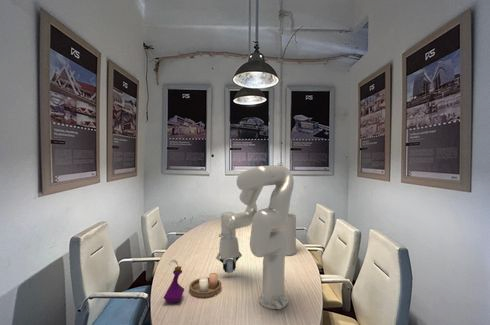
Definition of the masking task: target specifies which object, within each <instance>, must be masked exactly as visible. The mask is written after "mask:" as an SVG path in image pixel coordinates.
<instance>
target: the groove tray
mask: <svg viewBox="0 0 490 325" xmlns="http://www.w3.org/2000/svg"><path fill="white" fill-rule="evenodd" d="M206 278H208V292H199V279H200V277H199V278H196V279H195V280H193V281H191V282H190V284H189V285H188V286H189V287H188V288H189V294H190V296H192V297H194V298H197V299H209V298H213V297H216V296H218V293H219V292H222V282H221V280H219V279H218V287H217V288H216V289H210V288H209V277H207V276H206ZM219 294H220V293H219ZM215 295H216V296H215Z"/></svg>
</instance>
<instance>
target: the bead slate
mask: <svg viewBox="0 0 490 325" xmlns="http://www.w3.org/2000/svg"><path fill="white" fill-rule="evenodd" d="M226 270H227V271H226V273H227V274H231V273H234V270H233V258H229V259H226Z"/></svg>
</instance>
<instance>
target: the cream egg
mask: <svg viewBox="0 0 490 325" xmlns="http://www.w3.org/2000/svg"><path fill="white" fill-rule="evenodd" d="M206 277H207V276H206ZM206 277H203V276H202V277H201V278H200V277H199V278H200V279H199V278H198V279H199V292H208V278H206Z"/></svg>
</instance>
